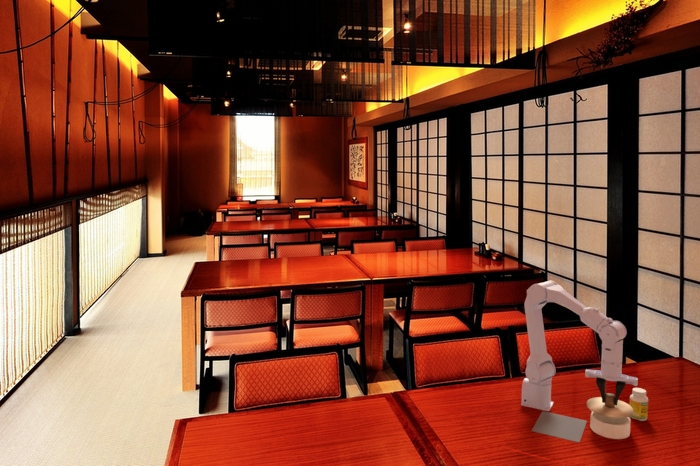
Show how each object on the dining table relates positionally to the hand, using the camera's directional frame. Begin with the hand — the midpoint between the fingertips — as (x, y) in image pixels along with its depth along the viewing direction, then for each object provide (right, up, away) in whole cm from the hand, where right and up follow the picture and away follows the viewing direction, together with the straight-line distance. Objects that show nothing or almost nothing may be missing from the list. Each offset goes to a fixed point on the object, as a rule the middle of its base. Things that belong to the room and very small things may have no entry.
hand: (609, 402), depth 162 cm
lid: (0, -2, 0) cm, 2 cm away
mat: (-14, -9, +4) cm, 17 cm away
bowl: (0, -10, +1) cm, 10 cm away
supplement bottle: (+14, -8, +10) cm, 19 cm away
